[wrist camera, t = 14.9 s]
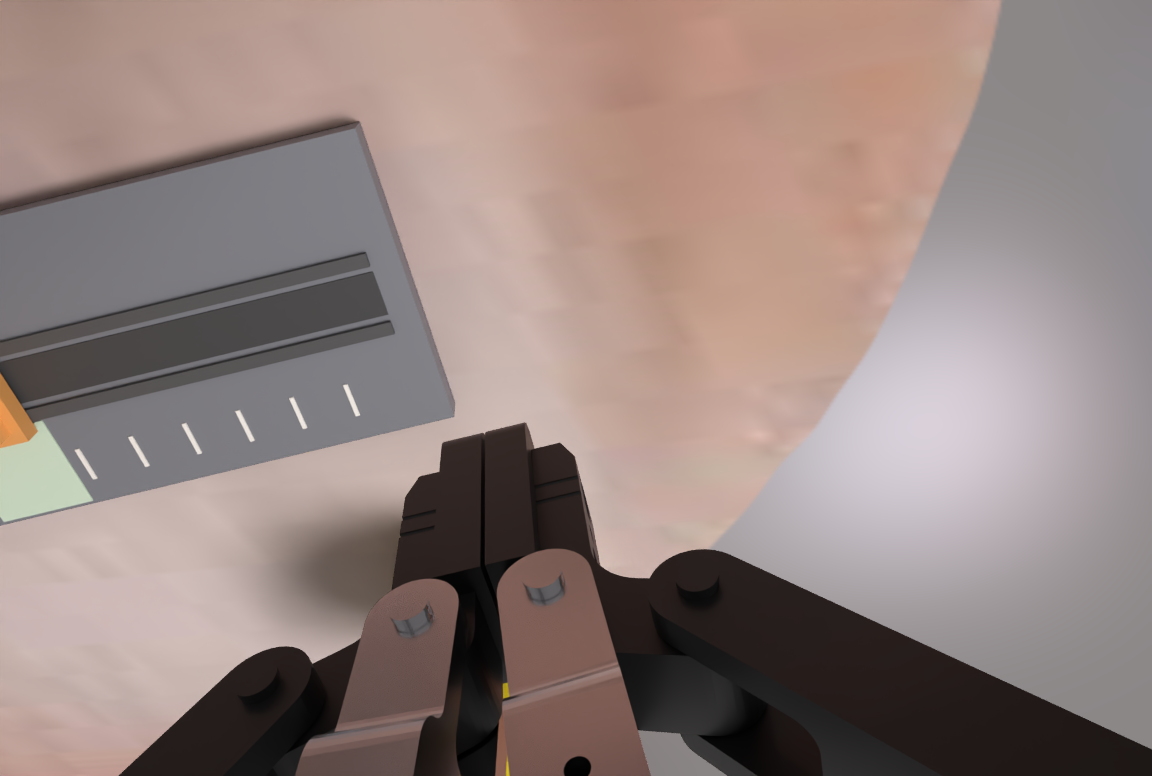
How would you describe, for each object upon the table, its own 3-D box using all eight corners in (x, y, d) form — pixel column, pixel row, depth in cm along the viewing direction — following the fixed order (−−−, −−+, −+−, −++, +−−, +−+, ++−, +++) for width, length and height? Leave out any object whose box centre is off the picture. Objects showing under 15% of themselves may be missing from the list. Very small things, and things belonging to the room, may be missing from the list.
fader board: (-12, 515, 47) (-49, 555, 44) (-198, 259, 39) (-259, 286, 36) (455, 402, 46) (452, 435, 43) (359, 121, 39) (348, 136, 35)
